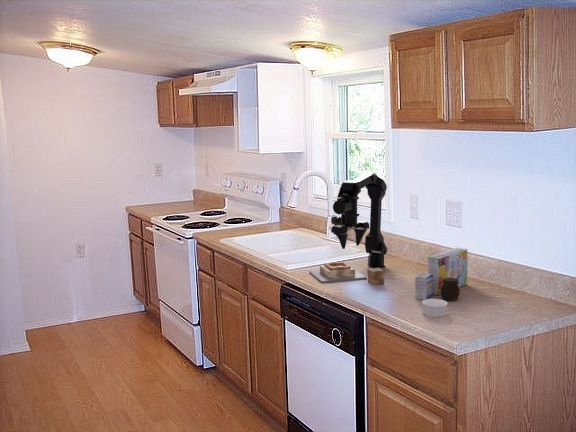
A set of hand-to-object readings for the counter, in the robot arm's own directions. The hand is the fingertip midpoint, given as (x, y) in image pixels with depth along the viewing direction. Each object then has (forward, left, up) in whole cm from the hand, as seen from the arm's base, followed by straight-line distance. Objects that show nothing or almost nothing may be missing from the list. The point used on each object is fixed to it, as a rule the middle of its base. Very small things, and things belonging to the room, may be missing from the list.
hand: (350, 247), depth 278 cm
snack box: (-31, +28, -14) cm, 44 cm away
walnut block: (-7, +11, -14) cm, 19 cm away
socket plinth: (+4, -6, -13) cm, 15 cm away
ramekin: (-11, +55, -14) cm, 58 cm away
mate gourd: (-25, +41, -14) cm, 50 cm away
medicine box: (-17, +35, -14) cm, 42 cm away
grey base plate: (+4, -6, -14) cm, 15 cm away
